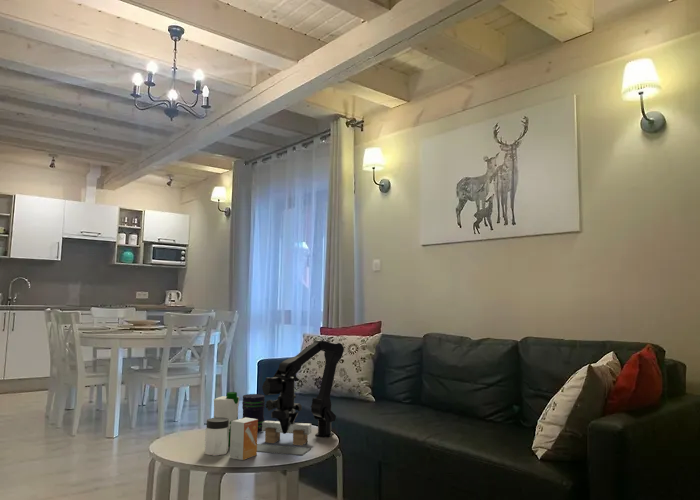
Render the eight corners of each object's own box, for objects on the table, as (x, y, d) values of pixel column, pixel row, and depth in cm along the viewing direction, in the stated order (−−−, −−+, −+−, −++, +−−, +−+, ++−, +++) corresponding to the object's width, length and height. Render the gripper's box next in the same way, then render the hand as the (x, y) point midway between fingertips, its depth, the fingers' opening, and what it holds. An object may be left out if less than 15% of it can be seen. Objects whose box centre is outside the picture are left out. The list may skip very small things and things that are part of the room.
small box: (242, 460, 187) (244, 422, 188) (229, 458, 190) (230, 420, 191) (257, 455, 194) (258, 418, 195) (243, 452, 197) (244, 417, 198)
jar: (208, 457, 191) (209, 422, 192) (201, 451, 198) (202, 418, 199) (232, 453, 196) (233, 420, 197) (224, 448, 203) (225, 416, 204)
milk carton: (231, 447, 204) (232, 394, 206) (209, 446, 206) (211, 393, 208) (240, 442, 212) (241, 391, 215) (219, 440, 214) (221, 390, 217)
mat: (253, 444, 209) (253, 443, 209) (310, 449, 202) (310, 448, 202) (242, 450, 200) (242, 449, 200) (302, 455, 194) (302, 454, 194)
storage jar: (248, 427, 239) (249, 393, 241) (268, 428, 236) (268, 394, 238) (237, 431, 230) (238, 396, 232) (256, 433, 227) (257, 398, 228)
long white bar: (265, 429, 218) (265, 420, 218) (311, 432, 212) (311, 423, 213) (262, 431, 214) (262, 422, 215) (308, 434, 209) (308, 425, 209)
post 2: (298, 441, 215) (298, 427, 215) (307, 441, 214) (307, 427, 214) (292, 444, 209) (293, 430, 210) (302, 445, 208) (302, 431, 209)
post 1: (271, 438, 218) (271, 425, 218) (280, 439, 217) (280, 425, 217) (265, 442, 212) (265, 428, 213) (274, 443, 211) (274, 429, 212)
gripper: (278, 388, 226) (277, 426, 224) (259, 395, 208) (258, 436, 207) (302, 390, 223) (301, 427, 222) (285, 397, 205) (284, 438, 204)
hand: (286, 432), depth 213 cm, fingers open, 4 cm apart
